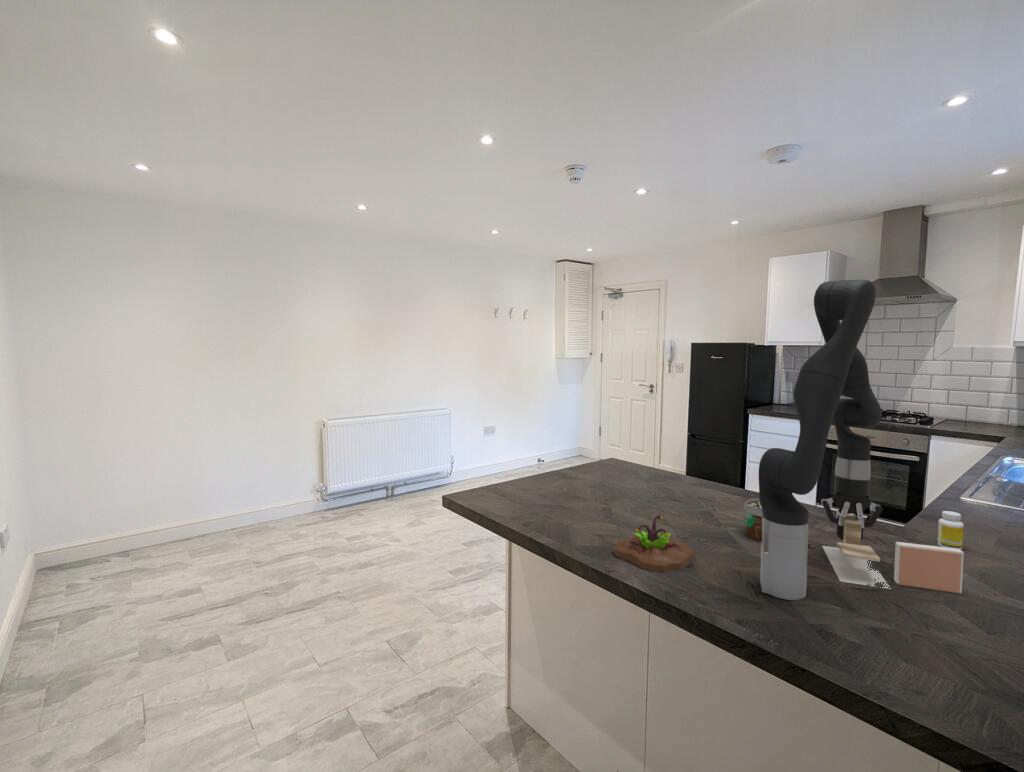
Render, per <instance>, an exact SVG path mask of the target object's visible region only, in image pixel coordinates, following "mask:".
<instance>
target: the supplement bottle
mask: <svg viewBox="0 0 1024 772" xmlns="http://www.w3.org/2000/svg"><path fill="white" fill-rule="evenodd" d="M941 517H942V518H939V519H938V523H937V524H938V525H937V537H936V539H937V541H936V543H937V545H938V547H946V548H955V549H960V550H961V551H962V550H963V545H964V528H965V525H964V523H963V522H962V521H961V520H962V515H961V513H959V512H956V511H950V510H943V511H942V513H941Z"/></svg>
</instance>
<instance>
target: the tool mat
mask: <svg viewBox="0 0 1024 772" xmlns="http://www.w3.org/2000/svg"><path fill="white" fill-rule="evenodd" d="M821 546H822V549H823V551H824V553H825V555H826V557H827V559H828V561H829V562H830V564H831V566H832V568H833V571H834V573H835V574H836V576H837V579H838V580H839V582H840V583H841V582H843V583H848V584H856V585H860V586H861V585H863V586H867V584H868V583H869V584H868V585H870V584H871V585H870V586H869V587H874V586H875V585H874V584H875V583H877V582H879V583H880V582H882V583H883V582H885V583H884V584H883V586H884V585H885V584H886V583H887V584H886V585H885V587H882V589H889V590H892V588H891V587H890V585H889V584H888V582H887V580H886V579H885V578H884V577H883V575H882V574H881V572H880V571H879V570H878V569H877V570H878V571H877V570H876V571H874V570H875V569H874V570H873V569H872V568H870V567H869V566H870V564H871V561H870V564H869V566H868V563H869V561H868V560H864V559H856V558H849V557H845V556H844V555H843V553H842V552H841V550H840V549H839V547H834V546H826V545H821ZM867 561H868V563H867ZM871 566H872V565H871ZM867 567H868V568H867ZM869 568H870V569H872V570H870V569H869ZM868 570H869V571H868ZM877 572H878V573H877ZM879 572H880V573H879ZM878 578H879V579H878ZM875 579H876V580H875ZM874 580H875V581H874ZM882 583H881V584H882ZM887 585H888V586H887ZM886 586H887V587H886ZM888 587H890V588H888ZM875 588H877V587H876V586H875Z"/></svg>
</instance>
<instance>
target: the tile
mask: <svg viewBox="0 0 1024 772" xmlns="http://www.w3.org/2000/svg"><path fill="white" fill-rule="evenodd" d="M894 547H895V550H894V570H893V571H894V572H893V573H894V574H893V581H894V582H895V584H896V583H897V584H896V585H901V586H908V587H915V588H920V589H929V590H934V591H941V592H942V591H943V592H949V593H956V594H962V592H963V573H964V555H965V552H964V551H962V549H961V550H960V549H955V548H946V547H941V546H937V545H927V544H919V543H912V542H911V543H910V542H902V541H895V545H894Z"/></svg>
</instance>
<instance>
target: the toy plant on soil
mask: <svg viewBox="0 0 1024 772" xmlns="http://www.w3.org/2000/svg"><path fill="white" fill-rule="evenodd" d="M663 519H664V517H663V515H661V514H657V515H655V517H654V518H653V521H652V525H651V527H649V526H648V525H647V524H641V525H639V526H638V527H635V530H634V531H635V533H634V534H635V535H634V536H632V537H629V538H626V537H625V538H623V539H620V540H618V541H617V544H616V545H614V546H613V554H615V555H616V556H617V557H616V556H615V555H614V556H615V557H616V558H618V557H619V558H618V559H620V558H621V560H622V559H624V560H623V561H625V560H626V561H625V562H628V561H629V563H630V562H631V564H632V563H633V564H632V565H635V566H636V567H638V566H639V567H638V568H640V569H641V568H642V569H641V570H645V569H647V570H646V571H649V570H651V571H650V572H654V571H660V572H659V573H662V572H666V571H667V572H669V570H670V571H680V570H683V569H684V568H685V567H687V566H688V565H690V564H691V563H693V562H694V561H695V560H696V552H695V550H694V549H692V547H690V546H689V544H686V543H684V542H682V541H680V540H677V539H675V538H671V534H672V533H671V532H668V531H667V530H666V529H665V528H664V529H663V528H659V529H657V520H658V521H660V522H661V521H663ZM641 528H645V530H646V531H645V530H644V531H643V530H641ZM640 532H641V534H640ZM661 532H663V534H662V535H661ZM667 572H666V573H667Z"/></svg>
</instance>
